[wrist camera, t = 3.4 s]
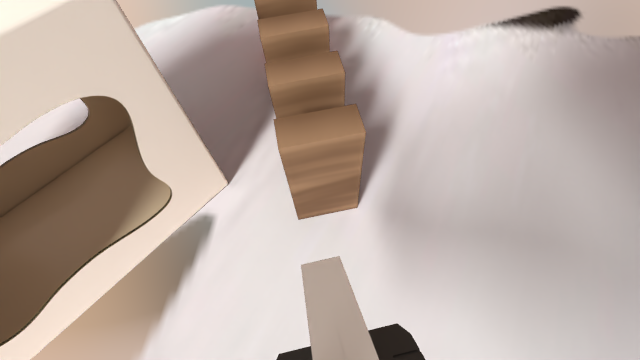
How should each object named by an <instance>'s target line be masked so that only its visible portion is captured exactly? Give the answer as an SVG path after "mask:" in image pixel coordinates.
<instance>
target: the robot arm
mask: <svg viewBox="0 0 640 360" xmlns="http://www.w3.org/2000/svg"><path fill="white" fill-rule="evenodd" d="M301 269H302V277H303V285H304V293H305V302H306V310H307V318H308V326H309V334H310V342H311V346H310V347H306V348H302V349H297V350H293V351H289V352H285V353H281V354H279V355H278V358H277V360H425V358H424V356H423V355H422V353H421V352H420V350H419V348H418V346H417V344H416V342H415V340H414V339H413V337H412V335H411V334H410V333H409V332H408V331H406V330H405V329H404V328H402V327H401V326H400V325H399V324H393V325H389V326H385V327H381V328H377V329H373V330H369V331H368V329H367V327H366V324H365V322H364V319H363V316H362V314H361V311H360V309H359V306H358V303H357V301H356V298H355V296H354V293H353V290H352V288H351V285H350V283H349V280H348V277H347V275H346V272H345V270H344V267H343V264H342V262H341V259H340V257H339V256H338V257H333V258H329V259H325V260H320V261H316V262H312V263H307V264H303V265H301Z"/></svg>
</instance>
